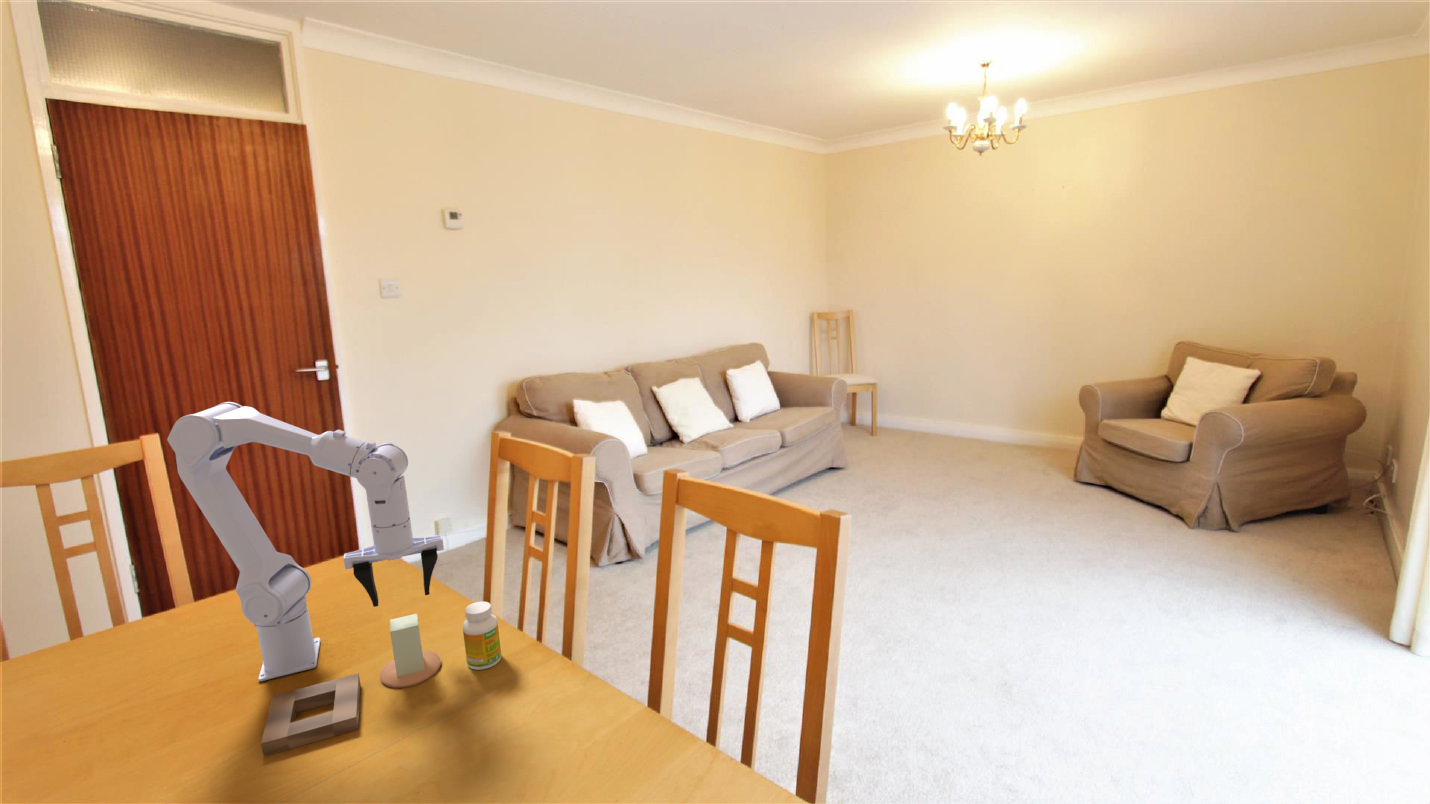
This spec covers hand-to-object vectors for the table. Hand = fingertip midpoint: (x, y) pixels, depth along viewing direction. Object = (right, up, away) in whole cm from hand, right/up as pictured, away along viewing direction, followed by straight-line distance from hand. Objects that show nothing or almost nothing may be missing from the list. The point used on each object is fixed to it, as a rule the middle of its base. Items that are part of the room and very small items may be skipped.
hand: (401, 598), depth 111 cm
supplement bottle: (+14, -11, 0) cm, 17 cm away
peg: (+2, -11, -2) cm, 11 cm away
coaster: (+2, -11, -2) cm, 12 cm away
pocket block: (-7, -14, -13) cm, 20 cm away
